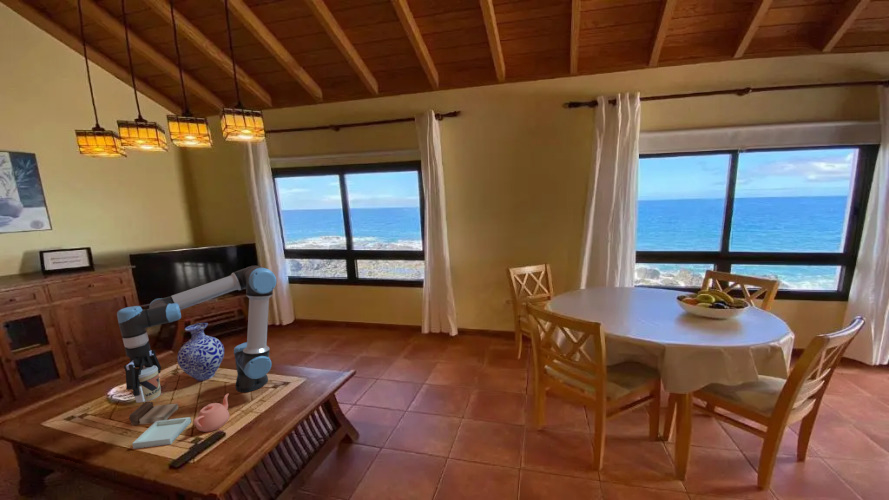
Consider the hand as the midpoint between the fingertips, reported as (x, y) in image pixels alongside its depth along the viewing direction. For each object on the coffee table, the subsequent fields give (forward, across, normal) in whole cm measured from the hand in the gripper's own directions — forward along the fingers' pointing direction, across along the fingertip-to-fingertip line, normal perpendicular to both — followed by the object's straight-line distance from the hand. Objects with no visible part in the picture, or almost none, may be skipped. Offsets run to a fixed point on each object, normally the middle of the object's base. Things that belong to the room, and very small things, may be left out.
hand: (148, 395), depth 144 cm
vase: (+19, -49, -8) cm, 54 cm away
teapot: (+19, -4, +21) cm, 29 cm away
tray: (+19, 0, +2) cm, 19 cm away
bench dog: (+19, -14, -16) cm, 28 cm away
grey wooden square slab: (+19, -14, -9) cm, 25 cm away
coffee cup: (+1, 0, 0) cm, 1 cm away
